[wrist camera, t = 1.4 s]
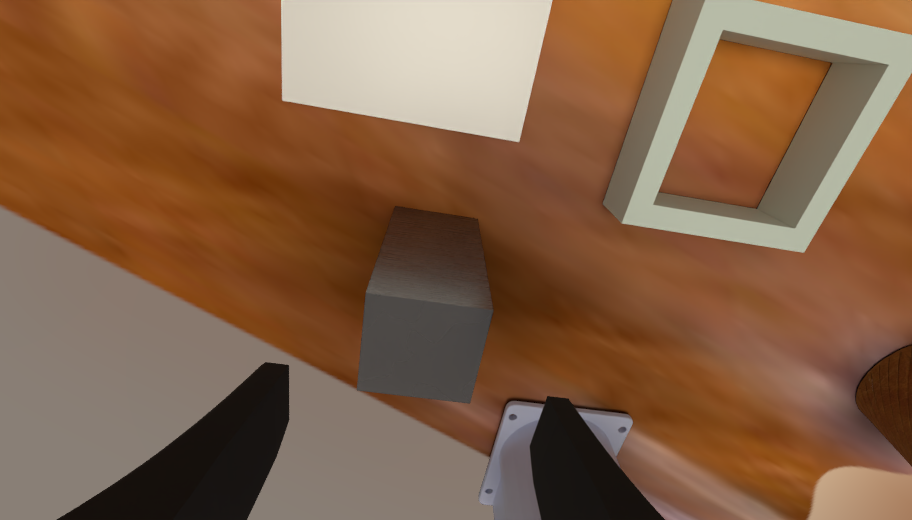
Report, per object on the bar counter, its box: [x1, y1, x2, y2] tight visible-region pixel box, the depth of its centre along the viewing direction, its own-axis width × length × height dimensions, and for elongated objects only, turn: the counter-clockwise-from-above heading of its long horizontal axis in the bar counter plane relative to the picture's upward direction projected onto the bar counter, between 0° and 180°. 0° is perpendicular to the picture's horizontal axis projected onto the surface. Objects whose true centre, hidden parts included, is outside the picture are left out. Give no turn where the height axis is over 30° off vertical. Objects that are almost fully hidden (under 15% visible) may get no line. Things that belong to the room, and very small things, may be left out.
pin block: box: [357, 206, 493, 403], centre depth 17 cm, size 4×4×8 cm
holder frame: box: [603, 0, 912, 253], centre depth 17 cm, size 8×8×2 cm
